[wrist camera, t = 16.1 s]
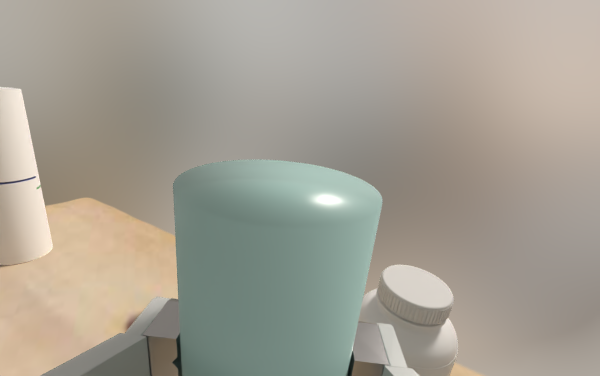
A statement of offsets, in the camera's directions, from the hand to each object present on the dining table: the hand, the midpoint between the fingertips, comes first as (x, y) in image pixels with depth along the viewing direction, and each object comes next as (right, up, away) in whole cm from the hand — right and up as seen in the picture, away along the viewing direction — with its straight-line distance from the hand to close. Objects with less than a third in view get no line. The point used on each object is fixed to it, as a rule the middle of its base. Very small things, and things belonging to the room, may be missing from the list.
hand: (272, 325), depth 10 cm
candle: (-1, -7, +1) cm, 8 cm away
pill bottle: (+8, -17, +17) cm, 25 cm away
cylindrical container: (-43, -6, +35) cm, 56 cm away
